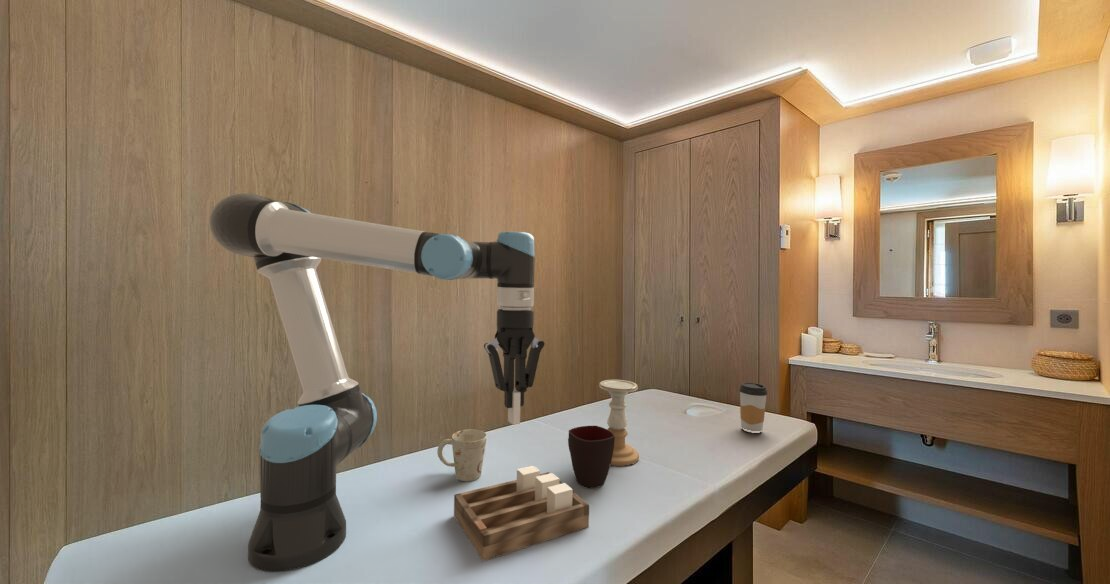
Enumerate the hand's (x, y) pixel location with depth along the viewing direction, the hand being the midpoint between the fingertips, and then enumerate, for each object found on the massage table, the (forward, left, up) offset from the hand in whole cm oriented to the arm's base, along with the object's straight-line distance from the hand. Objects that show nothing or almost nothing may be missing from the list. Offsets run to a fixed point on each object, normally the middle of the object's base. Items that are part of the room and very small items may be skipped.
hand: (513, 422), depth 91 cm
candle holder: (+37, +12, -19) cm, 43 cm away
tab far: (+4, +1, -16) cm, 17 cm away
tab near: (+6, -9, -16) cm, 20 cm away
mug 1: (-4, +21, -19) cm, 28 cm away
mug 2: (+22, +5, -19) cm, 29 cm away
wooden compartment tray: (0, -4, -19) cm, 19 cm away
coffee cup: (+90, +8, -19) cm, 92 cm away
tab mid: (+6, -4, -16) cm, 18 cm away
